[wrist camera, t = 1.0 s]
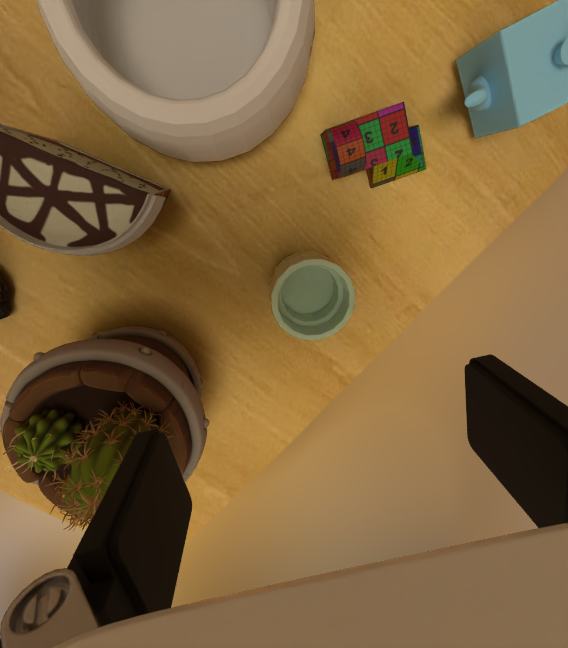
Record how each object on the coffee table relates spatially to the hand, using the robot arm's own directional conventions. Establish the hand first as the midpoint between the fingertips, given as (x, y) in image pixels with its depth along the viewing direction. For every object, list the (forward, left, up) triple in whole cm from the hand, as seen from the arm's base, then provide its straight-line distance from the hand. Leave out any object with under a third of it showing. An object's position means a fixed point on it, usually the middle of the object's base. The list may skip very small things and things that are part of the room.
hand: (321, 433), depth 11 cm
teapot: (+11, +21, -25) cm, 34 cm away
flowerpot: (-9, -14, -25) cm, 30 cm away
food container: (-16, +1, -25) cm, 29 cm away
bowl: (+3, 0, -25) cm, 25 cm away
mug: (-12, +17, -25) cm, 32 cm away
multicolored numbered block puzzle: (+4, +13, -25) cm, 28 cm away
